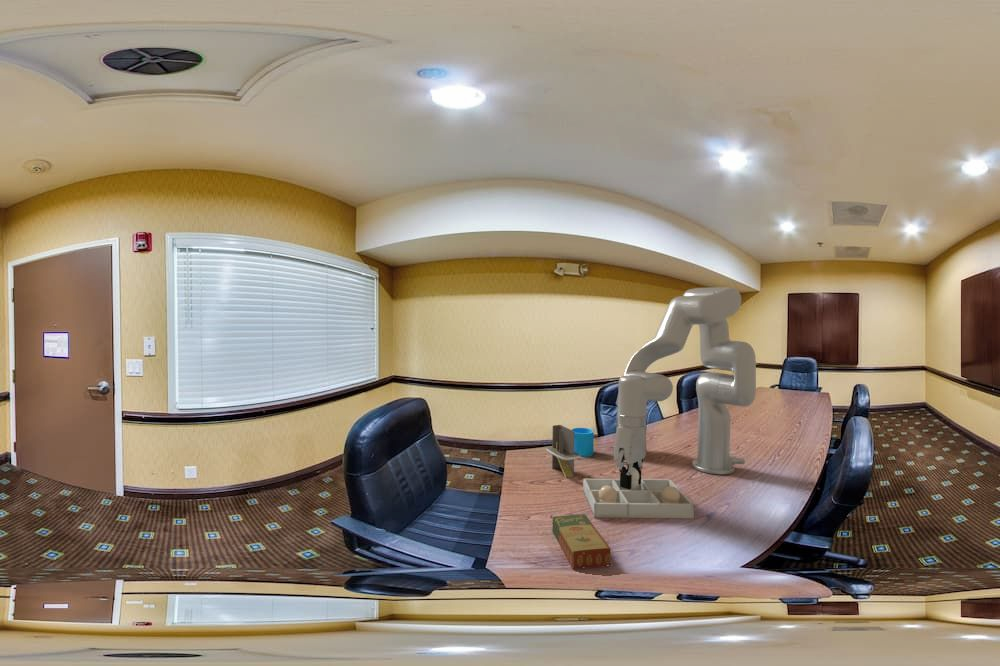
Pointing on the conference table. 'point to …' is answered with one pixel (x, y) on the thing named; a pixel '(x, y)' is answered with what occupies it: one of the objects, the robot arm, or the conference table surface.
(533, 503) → the conference table surface
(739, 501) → the conference table surface
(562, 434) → the toy chair
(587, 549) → the carton
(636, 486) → the loose egg
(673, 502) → the egg in carton
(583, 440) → the mug
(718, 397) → the robot arm
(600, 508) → the egg tray
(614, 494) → the egg in carton
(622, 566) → the conference table surface
